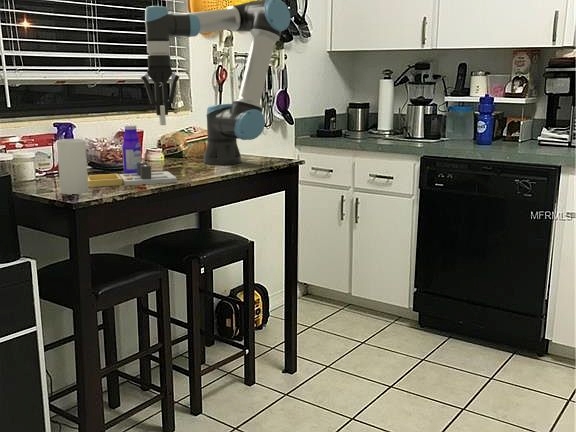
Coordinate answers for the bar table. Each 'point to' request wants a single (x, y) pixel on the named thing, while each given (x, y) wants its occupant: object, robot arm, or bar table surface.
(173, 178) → the breaker board
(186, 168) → the bar table surface
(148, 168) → the breaker
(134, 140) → the bottle
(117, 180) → the yellow square tray
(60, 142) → the light grey upright block
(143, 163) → the block
